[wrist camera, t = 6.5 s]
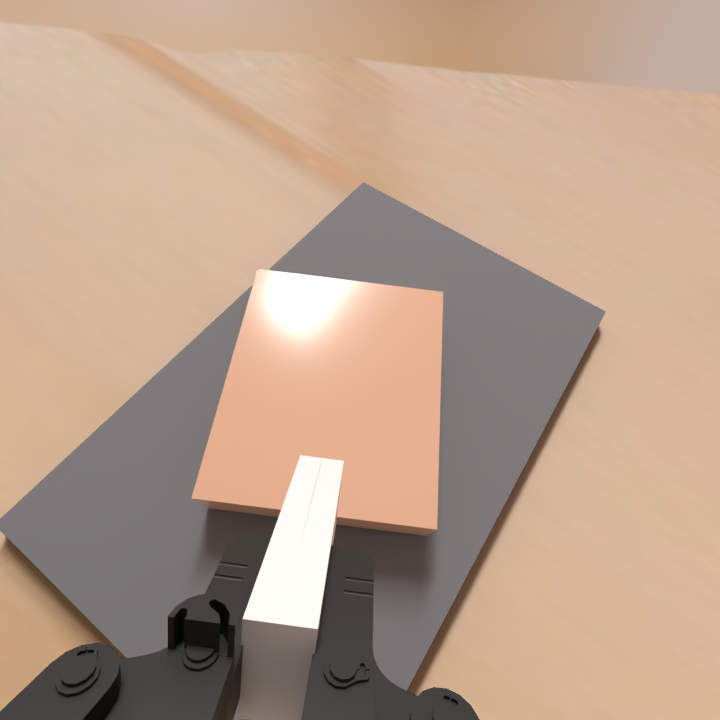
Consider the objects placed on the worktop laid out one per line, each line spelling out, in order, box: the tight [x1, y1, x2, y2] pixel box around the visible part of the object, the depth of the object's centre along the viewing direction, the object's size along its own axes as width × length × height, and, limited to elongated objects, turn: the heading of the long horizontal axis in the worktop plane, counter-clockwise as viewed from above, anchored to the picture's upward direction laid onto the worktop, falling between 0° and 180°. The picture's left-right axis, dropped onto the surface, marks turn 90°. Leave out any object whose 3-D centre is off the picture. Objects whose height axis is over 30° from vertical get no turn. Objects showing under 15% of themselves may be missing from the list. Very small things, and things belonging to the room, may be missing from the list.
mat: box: [0, 182, 605, 720], centre depth 23 cm, size 18×28×1 cm, turn 145°
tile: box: [192, 269, 443, 536], centre depth 21 cm, size 2×10×12 cm
